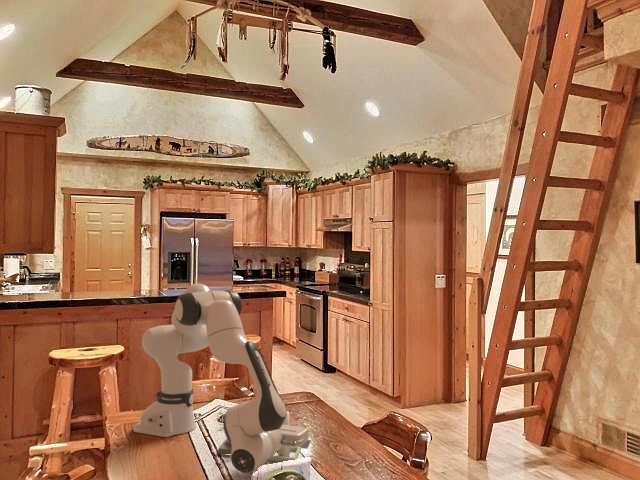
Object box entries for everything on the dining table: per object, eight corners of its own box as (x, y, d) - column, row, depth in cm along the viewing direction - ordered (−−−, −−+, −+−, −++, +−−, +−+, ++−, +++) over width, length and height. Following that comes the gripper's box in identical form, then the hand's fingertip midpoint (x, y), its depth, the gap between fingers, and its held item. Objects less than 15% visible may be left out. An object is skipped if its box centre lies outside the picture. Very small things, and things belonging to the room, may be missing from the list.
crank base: (218, 454, 163) (218, 447, 163) (232, 438, 176) (232, 431, 176) (259, 457, 160) (259, 451, 160) (270, 440, 174) (270, 434, 174)
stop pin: (277, 457, 159) (276, 414, 158) (280, 452, 162) (279, 410, 162) (288, 458, 158) (287, 415, 158) (290, 453, 162) (290, 410, 161)
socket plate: (287, 449, 167) (287, 446, 167) (291, 441, 174) (291, 438, 174) (307, 451, 166) (307, 448, 166) (311, 443, 172) (311, 440, 172)
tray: (266, 463, 156) (266, 456, 156) (273, 451, 165) (274, 444, 165) (295, 465, 155) (295, 458, 155) (300, 453, 164) (300, 446, 164)
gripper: (299, 434, 145) (315, 418, 158) (237, 425, 151) (257, 410, 164) (299, 455, 145) (315, 438, 158) (237, 445, 151) (257, 429, 164)
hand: (285, 424), depth 161 cm, fingers open, 8 cm apart
